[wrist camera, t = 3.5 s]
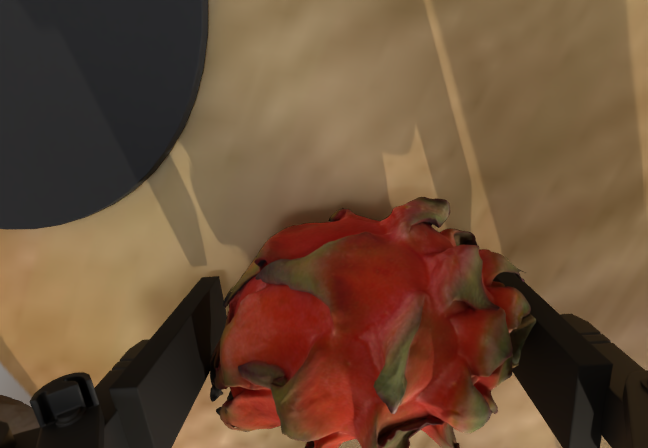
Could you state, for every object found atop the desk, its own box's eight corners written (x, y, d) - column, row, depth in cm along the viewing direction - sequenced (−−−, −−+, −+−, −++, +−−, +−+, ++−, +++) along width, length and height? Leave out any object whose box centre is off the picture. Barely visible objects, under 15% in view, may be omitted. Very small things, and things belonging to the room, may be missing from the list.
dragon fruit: (488, 225, 17) (271, 305, 20) (448, 82, 10) (144, 235, 14) (594, 438, 12) (278, 492, 15) (642, 409, 5) (85, 514, 9)
